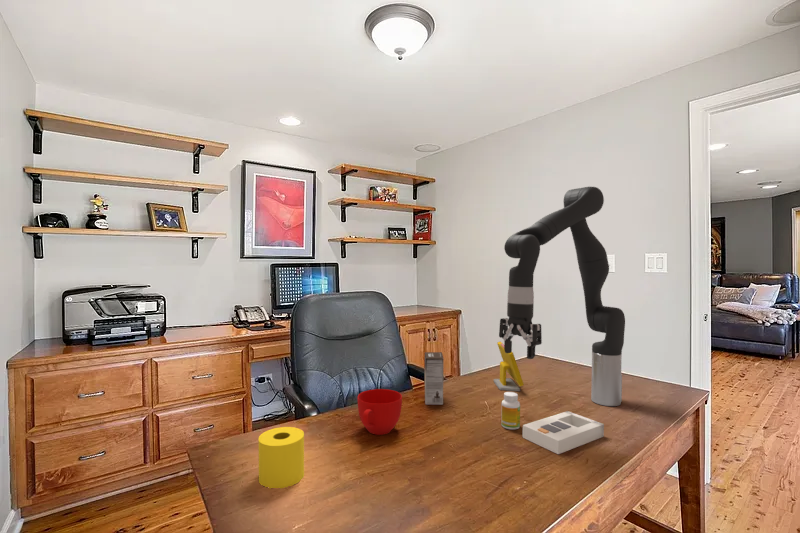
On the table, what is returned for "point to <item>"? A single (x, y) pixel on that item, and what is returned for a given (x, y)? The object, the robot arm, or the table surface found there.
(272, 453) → the yellow toilet paper roll
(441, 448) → the table surface
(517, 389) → the yellow framed monitor
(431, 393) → the coffee box
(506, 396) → the supplement bottle
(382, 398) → the ceramic cup
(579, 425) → the white bottle holder
